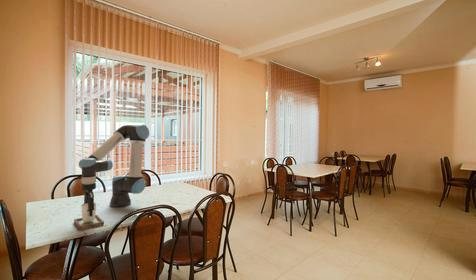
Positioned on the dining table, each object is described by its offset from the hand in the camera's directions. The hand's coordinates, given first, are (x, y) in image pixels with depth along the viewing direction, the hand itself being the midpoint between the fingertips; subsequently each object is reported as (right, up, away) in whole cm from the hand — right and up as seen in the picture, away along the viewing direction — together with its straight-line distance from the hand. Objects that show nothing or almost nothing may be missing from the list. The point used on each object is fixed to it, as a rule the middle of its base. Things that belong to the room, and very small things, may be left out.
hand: (88, 218), depth 151 cm
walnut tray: (0, -3, 0) cm, 3 cm away
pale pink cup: (0, -1, 0) cm, 1 cm away
